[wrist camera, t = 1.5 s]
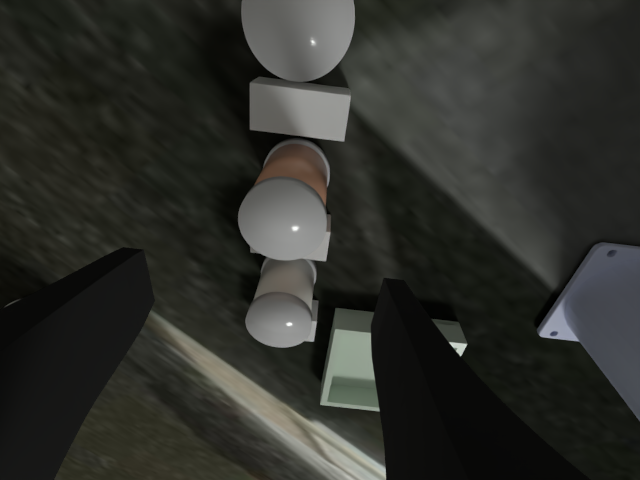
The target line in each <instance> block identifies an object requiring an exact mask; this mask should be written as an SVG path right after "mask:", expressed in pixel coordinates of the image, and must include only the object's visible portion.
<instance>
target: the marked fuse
mask: <svg viewBox="0 0 640 480" xmlns="http://www.w3.org/2000/svg"><path fill="white" fill-rule="evenodd" d="M329 178H330V166H329V161H328V159H327V157H326V155H325V153H324V152H323V150H322V149H321V148H320V147H319V146H317V145H316V144H315V143H313V142H311V141H309V140H306V139H302V138H290V139H286V140H283V141H281V142H279V143H278V144H276V145H275V146H274V147H273V148H272V149H271V151H270V152H269V154H268V156H267V158H266V160H265V162H264V166H263V169H262V171H261V173H260V175H259V177H258V179H257V181H256V183H255V185H254V186H253V187H252V188H251V189H250V190H249V192H248V193H247V195H246V196H245V198H244V200H243V202H242V204H241V206H240V209H239V213H238V224H239V228H240V231H241V234H242V236H243V237H244V239H245V240H246V242H247V243H248V244H249V245H250V246H251V247H252V248H253V249H254V250H256V251H257V252H259V253H260V254H262V255H264V256H266V257H269V258H272V259H276V260H296V259H300V258H303V257H305V256H307V255H309V254H311V253H312V252H314V251H315V250H316V249H317V248H318V247H319V246H320V244H321V243H322V241H323V239H324V237H325V234H326V227H327V211H326V193H327V186H328V183H329Z"/></svg>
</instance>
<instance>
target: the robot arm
mask: <svg viewBox="0 0 640 480" xmlns="http://www.w3.org/2000/svg"><path fill="white" fill-rule="evenodd" d="M609 251H610V252H609ZM608 252H609V253H608ZM154 301H155V300H154V295H153V290H152V286H151V281H150V276H149V272H148V267H147V263H146V258H145V253H144V250H142V249H133V248H125V247H123V248H121V249H118V250H116V251H114V252H112V253H110V254H108V255H106V256H104V257H102V258H100V259H98V260H96V261H94V262H93V263H91V264H89V265H87V266H85V267H83V268H81V269H79V270H78V271H76V272H74V273H72V274H70V275H68V276H66V277H64V278H62V279H60V280H58V281H57V282H55V283H53V284H51V285H49V286H47V287H45V288H43V289H41V290H39V291H37V292H35V293H33V294H31V295H29V296H27V297H24V298H22V299H20V300H18V301H16V302H14V303H12V304H10V305H8V306H6V307H4V308H2V309H0V480H54V478H55V476H56V474H57V472H58V470H59V468H60V466H61V464H62V462H63V460H64V458H65V456H66V454H67V452H68V450H69V448H70V446H71V444H72V442H73V440H74V438H75V436H76V435H77V433H78V431H79V429H80V427H81V425H82V423H83V421H84V419H85V417H86V416H87V414H88V412H89V411H90V409H91V407H92V406H93V404H94V402H95V401H96V399H97V397H98V396H99V394H100V393H101V391H102V390H103V388H104V387H105V385H106V384H107V382H108V381H109V379H110V377H111V376H112V374H113V373H114V371H115V370H116V368H117V367H118V365H119V364H120V362H121V361H122V359H123V358H124V356H125V354H126V353H127V351H128V350H129V348H130V347H131V345H132V344H133V342H134V340H135V339H136V337H137V336H138V334H139V332H140V331H141V329H142V327H143V325H144V323H145V321H146V319H147V317H148V314H149V312H150V310H151V308H152V306H153V303H154ZM537 332H538V334H539V335H540V336H541V337H546V338H555V339H563V340H572V341H580V343H581V344H582V345H583V347H584V348H585V349H586V351H587V352H588V353H589V355H590V356H591V357H592V359H593V360H594V361H595V363H596V364H597V365H598V366H599V368H600V369H601V370H602V372H603V373H604V374H605V376H606V377H607V378H608V380H609V381H610V382H611V384H612V385H613V386H614V388H615V389H616V390H617V392H618V393H619V394H620V396H621V397H622V398H623V399H624V401H625V402H626V403H627V405H628V406H629V407H630V409H631V410H632V411H633V413H634V414H635V415H636V417H637V418H638V419H639V421H640V247H639V246H630V245H622V244H614V243H606V242H601V243H598V244H596V245H594V246H593V247H592V249H591V250H590V252H589V253H588V254H587V256H586V257H585V259H584V260H583V262H582V263H581V265H580V266H579V268H578V269H577V271H576V272H575V274H574V275H573V277H572V278H571V280H570V281H569V283H568V284H567V286H566V287H565V289H564V290H563V291H562V293H561V294H560V296H559V297H558V299H557V300H556V302H555V303H554V305H553V306H552V308H551V309H550V311H549V312H548V314H547V315H546V317H545V318H544V320H543V321H542V323H541V324H540V326H539V327H538V329H537ZM371 354H372V363H373V370H374V377H375V384H376V390H377V397H378V403H379V410H380V416H381V423H382V430H383V438H384V447H385V463H386V480H590V479H589V478H588V477H587V476H585V475H584V474H583V473H582V472H580V471H579V470H578V469H577V468H576V467H574V466H573V465H572V464H571V463H570V462H568V461H567V460H566V459H565V458H564V457H562V456H561V455H560V454H559V453H558V452H557V451H555V450H554V449H553V448H552V447H551V446H550V445H548V444H547V443H546V442H545V441H544V440H543V439H542V438H541V437H539V436H538V435H537V434H536V433H535V432H534V431H533V430H532V429H531V428H530V427H529V426H527V425H526V424H525V423H524V422H523V421H522V420H521V419H520V418H519V417H518V416H517V415H516V414H514V413H513V412H512V411H511V410H510V409H509V408H508V407H507V406H506V405H505V404H504V403H503V402H502V401H501V400H500V399H499V398H498V397H497V396H496V395H495V394H494V393H493V392H492V391H491V389H490V388H489V387H488V386H487V385H486V384H485V383H484V382H483V381H482V380H481V379H480V378H479V377H478V376H477V375H476V374H475V373H474V371H473V370H472V369H471V368H470V367H469V366H468V365H467V363H466V362H465V361H464V360H463V359H462V358H461V356H460V355H459V354H458V353H457V352H456V350H455V349H454V348H453V347H452V346H451V344H450V343H449V342H448V341H447V339H446V338H445V337H444V335H443V334H442V333H441V331H440V330H439V329H438V327H437V326H436V325H435V323H434V322H433V321H432V319H431V318H430V317H429V315H428V314H427V312H426V311H425V310H424V308H423V307H422V305H421V304H420V302H419V301H418V300H417V298H416V297H415V295H414V294H413V292H412V291H411V289H410V288H409V287H408V285H407V284H406V282H405V281H404V280H398V279H389V278H384V279H383V283H382V286H381V290H380V293H379V297H378V301H377V304H376V308H375V311H374V315H373V319H372V322H371Z"/></svg>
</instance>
